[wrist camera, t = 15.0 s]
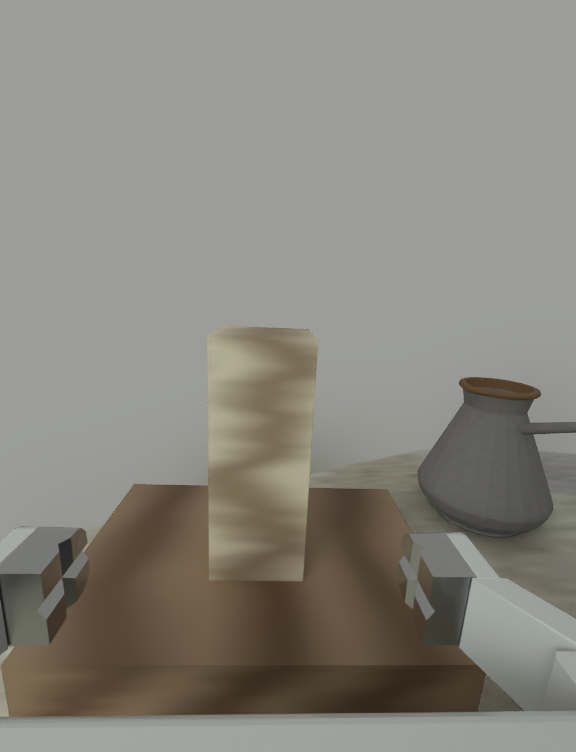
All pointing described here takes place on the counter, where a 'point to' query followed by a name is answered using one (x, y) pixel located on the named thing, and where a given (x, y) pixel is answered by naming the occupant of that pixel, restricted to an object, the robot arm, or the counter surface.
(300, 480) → the birch block
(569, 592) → the counter surface
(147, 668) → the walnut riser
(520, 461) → the coffee pot
